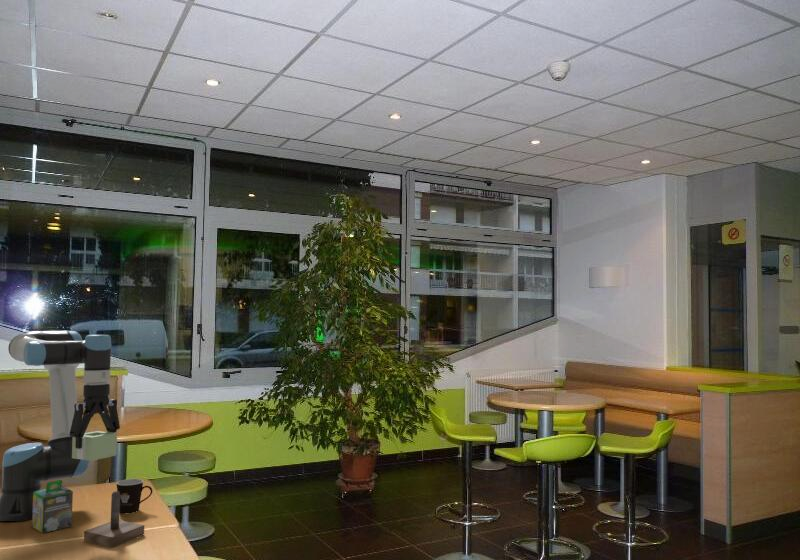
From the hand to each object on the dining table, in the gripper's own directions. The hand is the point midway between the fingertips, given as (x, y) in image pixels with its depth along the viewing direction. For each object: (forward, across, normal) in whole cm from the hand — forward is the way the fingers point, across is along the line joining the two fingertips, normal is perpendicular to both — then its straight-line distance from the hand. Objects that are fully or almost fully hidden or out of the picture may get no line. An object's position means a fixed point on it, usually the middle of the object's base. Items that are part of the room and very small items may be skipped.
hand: (94, 456), depth 199 cm
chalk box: (+24, -1, +18) cm, 30 cm away
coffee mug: (+24, +22, +8) cm, 34 cm away
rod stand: (+24, +1, -8) cm, 26 cm away
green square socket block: (0, 0, 0) cm, 0 cm away
